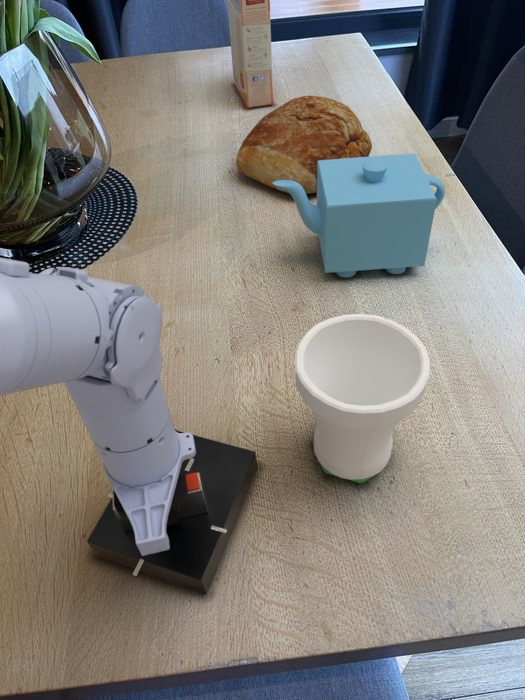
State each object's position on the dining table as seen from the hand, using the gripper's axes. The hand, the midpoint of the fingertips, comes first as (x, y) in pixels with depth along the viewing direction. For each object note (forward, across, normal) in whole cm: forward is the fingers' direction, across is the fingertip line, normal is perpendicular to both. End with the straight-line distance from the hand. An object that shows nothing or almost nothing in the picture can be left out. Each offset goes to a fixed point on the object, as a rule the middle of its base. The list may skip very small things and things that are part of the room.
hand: (164, 510), depth 49 cm
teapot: (+4, +34, -30) cm, 46 cm away
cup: (+4, +4, -19) cm, 20 cm away
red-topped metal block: (+1, 0, 0) cm, 1 cm away
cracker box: (+4, +93, -28) cm, 98 cm away
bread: (+4, +60, -28) cm, 67 cm away
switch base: (+4, +2, -1) cm, 4 cm away
